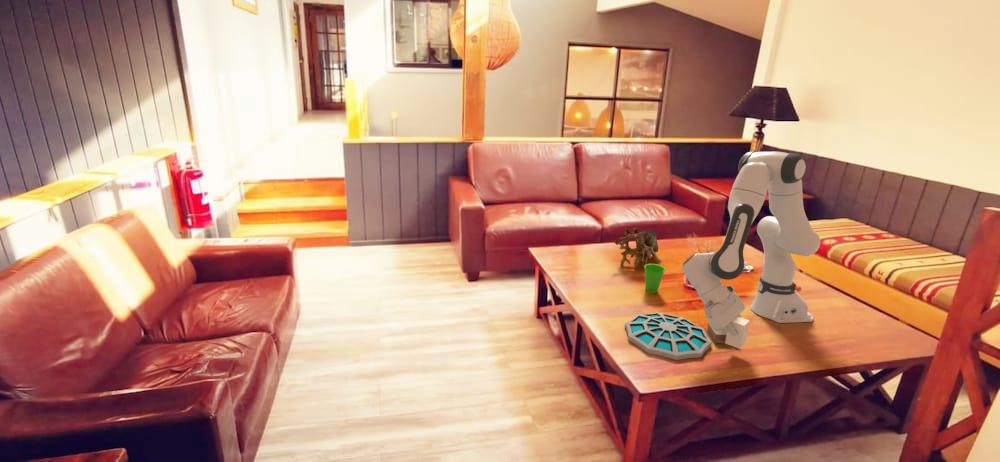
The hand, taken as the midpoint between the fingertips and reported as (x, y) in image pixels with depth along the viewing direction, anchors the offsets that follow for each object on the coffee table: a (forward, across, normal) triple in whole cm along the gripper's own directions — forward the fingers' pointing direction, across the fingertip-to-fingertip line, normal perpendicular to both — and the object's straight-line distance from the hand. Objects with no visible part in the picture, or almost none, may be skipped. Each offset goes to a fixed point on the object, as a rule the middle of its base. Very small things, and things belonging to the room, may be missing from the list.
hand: (739, 331), depth 167 cm
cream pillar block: (+3, 0, +4) cm, 5 cm away
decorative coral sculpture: (-42, +49, +55) cm, 85 cm away
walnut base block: (+1, +7, +12) cm, 14 cm away
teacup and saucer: (-9, +80, +25) cm, 84 cm away
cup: (-26, +24, +39) cm, 53 cm away
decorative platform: (-9, -7, +22) cm, 25 cm away
